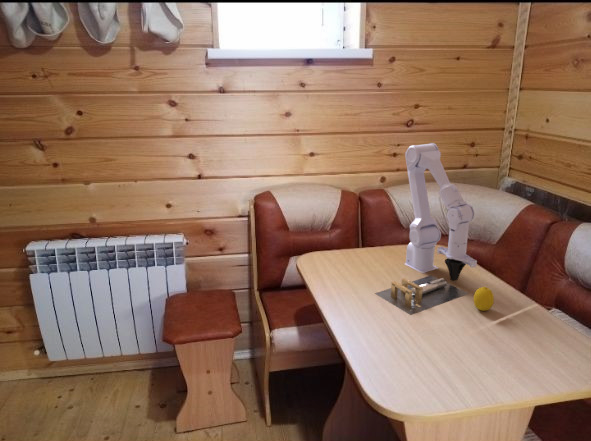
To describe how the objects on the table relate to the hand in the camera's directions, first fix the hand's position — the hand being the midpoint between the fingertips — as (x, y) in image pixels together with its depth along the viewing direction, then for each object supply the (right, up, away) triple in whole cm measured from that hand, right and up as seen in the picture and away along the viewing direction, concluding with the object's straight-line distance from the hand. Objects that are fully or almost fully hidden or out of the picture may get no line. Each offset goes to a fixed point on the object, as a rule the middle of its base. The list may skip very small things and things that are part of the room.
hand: (454, 279), depth 157 cm
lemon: (+3, -7, -17) cm, 18 cm away
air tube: (-10, -3, -5) cm, 12 cm away
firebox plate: (-12, -4, -6) cm, 15 cm away
